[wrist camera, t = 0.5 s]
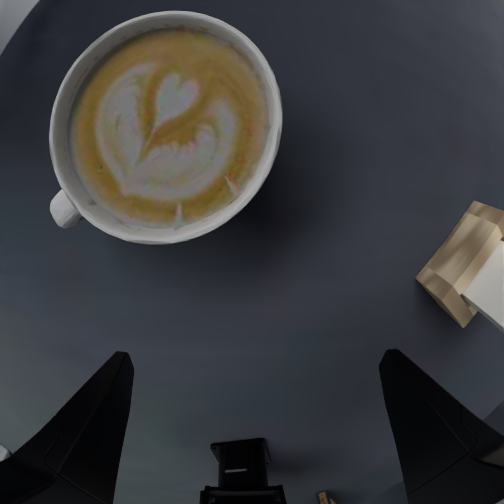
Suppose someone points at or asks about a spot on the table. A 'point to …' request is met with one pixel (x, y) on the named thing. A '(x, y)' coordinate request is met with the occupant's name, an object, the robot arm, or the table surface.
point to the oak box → (462, 259)
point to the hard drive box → (4, 453)
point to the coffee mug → (164, 129)
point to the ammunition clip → (326, 498)
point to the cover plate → (489, 288)
